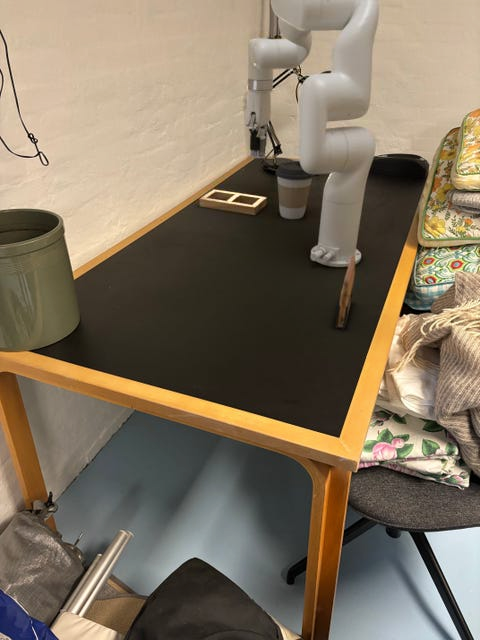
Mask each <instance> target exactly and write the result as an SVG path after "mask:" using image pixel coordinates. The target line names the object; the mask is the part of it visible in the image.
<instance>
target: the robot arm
mask: <svg viewBox="0 0 480 640" xmlns="http://www.w3.org/2000/svg"><path fill="white" fill-rule="evenodd" d="M270 6H271V9H272V12H273V14H274V15H275V16H276V17H277V18H278V19H277V25H278V29H279V32H280V33H281V35H282V36H283V38H266V37H254V38H251V39H250V40H248V47H247V98H246V105H245V123H244V124H245V126H246V127H247V129H248V131H249V150H250V151H251V150H256V151H259V150H260V137H259V135H260V128H263V129H265V134H264V135H265V136H266V140H267V137H268V136H267V133H268V123H270V122H271V114H272V113H271V111H272V109H271V108H272V103H271V102H272V99H271V95H272V94H271V92H273V88H274V87H273V85H274V84H273V83H274V70H293V69H296V68H298V67H299V66H300V65H302V64H303V62H304V61H305V60H306V59H307V58H308V57H309V55H310V53H311V50H312V45H313V33H312V32H313V31H314V32H318V31H319V32H320V31H323V32H324V31H325V32H329V31H340V33H339V34H338V36H337V38H336V39H335V42H334V44H333V46H332V49H331V66H330V67H331V68H330V72H328V73H327V72H326V73H325V72H324V73H315V74H312V75H309V76H307V77H306V79H304V81H303V82H302V84H301V86H300V89H299V94H298V98H297V151H298V160H299V161H298V162H300V165H301V167H302V169H303V170H304V171H305V172H306V173H309V174H314V175H325V174H329V176H328V178H327V179H326V181H325V184H324V187H323V193H322V201H321V211H320V220H319V221H320V222H319V231H318V241H317V245H314V246H313V247H312V248H311V250H310V257H309V258H310V260H311V261H313V262H317V263H319V264H321V265H323V266H328V267H331V268H332V267H333V268H348V266H349V262H350V259H351V256H352V255H353V254H354V255H355V265H357V264H359V263H360V262H361V259H362V253H361V251H359V249H357V242H358V236H359V230H360V224H361V217H362V210H363V204H364V199H365V191H366V185H367V180H368V176H369V173H370V169H371V167H372V164H373V161H374V158H375V154H376V150H377V149H376V148H377V145H376V139H375V136H374V134H373V133H372V132H371V131H370V130H369V129H368V128H365V127H363V126H358V125H356V126H355V125H351V126H349V125H348V126H339V127H338V126H337V127H327V125H328V123H329V122H338V121H339V122H342V121H350V120H351V121H352V120H358V119H360V118H363V117H364V116H365V115H366V114H367V113H368V111H369V108H370V106H371V105H370V103H371V98H372V97H371V95H372V74H373V51H374V50H373V49H374V43H375V37H376V35H377V34H376V33H377V29H378V24H379V16H380V6H379V0H270ZM256 129H257V131H256Z"/></svg>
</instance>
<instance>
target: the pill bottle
mask: <svg viewBox="0 0 480 640" xmlns="http://www.w3.org/2000/svg"><path fill="white" fill-rule="evenodd" d="M256 131H257V129H256ZM264 134H266V133H265V129H263V128H260V135H259V137H260V150H259V151H256V150H250V158H253V159H264V158H265V157H266V149H267V139H266V136H265V135H264Z"/></svg>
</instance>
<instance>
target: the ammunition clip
mask: <svg viewBox="0 0 480 640" xmlns="http://www.w3.org/2000/svg"><path fill="white" fill-rule="evenodd" d="M355 270H356V264H355V255H354V254H353V255H352V256H351V259H350V262H349V266H348V267H347V269H346V273H345V276H344V280H343V284H342V289H341V291H340V297H339V302H338V307H337V312H336V313H337V314H336V321H335V328H336V329H341V330H346V325H347V322H348V318H349V315H350V309H351V304H352V300H353V293H354V288H355V287H354V286H355V274H356V272H355Z"/></svg>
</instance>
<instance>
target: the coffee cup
mask: <svg viewBox="0 0 480 640" xmlns="http://www.w3.org/2000/svg"><path fill="white" fill-rule="evenodd" d="M275 176H276V177H277V191H278V205H279V206H278V207H279V213H280V217H282V218H283V219H287V220H298V219H302V218H303V217H304V216H305V215H304V214H305V213H306V208H307V203H308V199H309V194H310V190H311V185H312V180H313V178H314V177H315V174H309V173H306V172H305V171H304V170H303V169H302V167H301V165H300V161H295V160H293V161H292V160H289V161H284V162H281V163H280V164H279V165H278V168H277V169H276V170H275Z"/></svg>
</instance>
